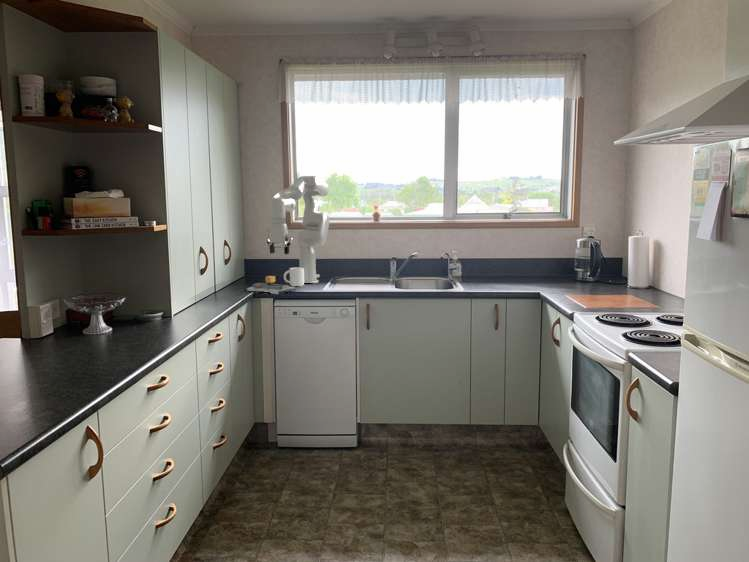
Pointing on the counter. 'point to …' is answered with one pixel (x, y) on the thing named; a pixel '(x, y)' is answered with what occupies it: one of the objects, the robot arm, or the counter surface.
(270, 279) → the orange block
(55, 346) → the counter surface
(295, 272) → the mug
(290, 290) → the grey bar
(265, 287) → the slider switch board
